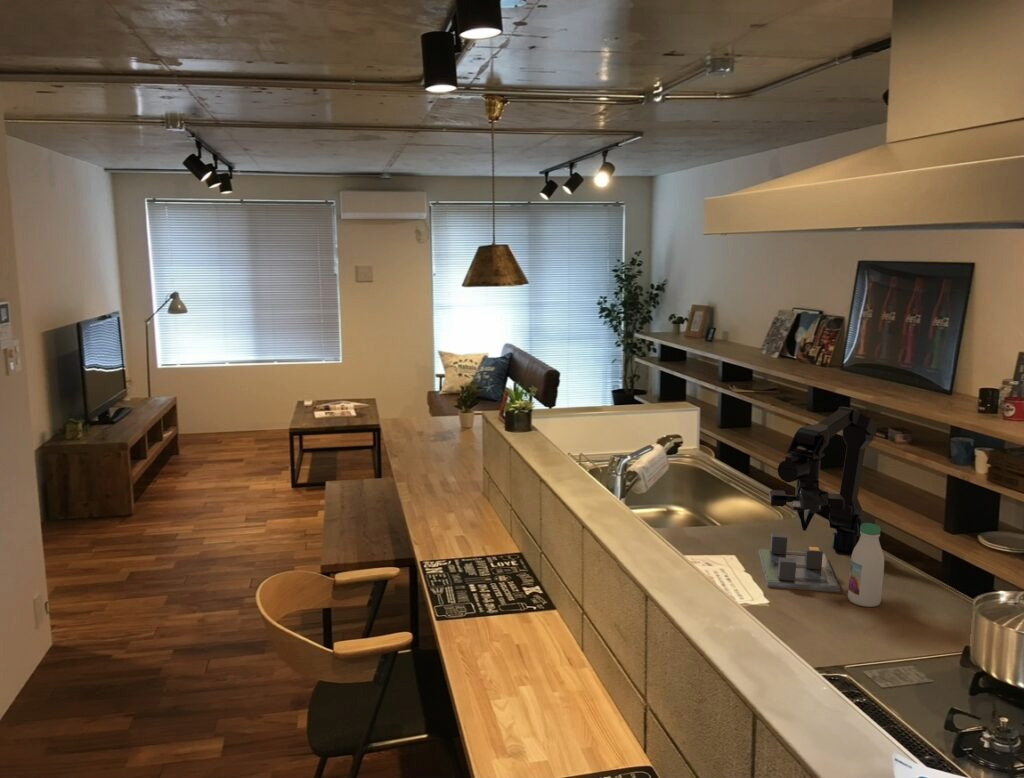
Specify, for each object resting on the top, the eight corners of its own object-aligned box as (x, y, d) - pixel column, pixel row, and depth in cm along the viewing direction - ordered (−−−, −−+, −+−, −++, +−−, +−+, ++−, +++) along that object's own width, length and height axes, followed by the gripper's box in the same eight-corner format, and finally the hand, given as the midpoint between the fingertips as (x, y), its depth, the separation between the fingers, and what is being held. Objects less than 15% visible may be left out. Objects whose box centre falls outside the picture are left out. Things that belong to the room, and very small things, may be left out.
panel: (824, 557, 238) (824, 552, 238) (839, 592, 216) (840, 587, 216) (758, 553, 242) (759, 548, 241) (767, 586, 219) (767, 581, 219)
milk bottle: (881, 597, 213) (888, 523, 209) (880, 610, 206) (887, 533, 202) (848, 592, 216) (854, 518, 213) (846, 604, 210) (852, 528, 206)
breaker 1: (784, 550, 240) (785, 533, 239) (786, 554, 237) (787, 537, 236) (770, 549, 240) (771, 532, 239) (771, 553, 237) (772, 536, 236)
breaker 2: (793, 576, 222) (794, 558, 221) (794, 580, 219) (796, 562, 218) (777, 574, 223) (778, 557, 222) (779, 579, 220) (780, 561, 219)
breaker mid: (819, 565, 229) (821, 547, 228) (821, 569, 227) (822, 551, 226) (804, 563, 230) (805, 546, 229) (805, 568, 227) (807, 550, 226)
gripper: (774, 481, 218) (771, 538, 221) (851, 486, 214) (846, 543, 217) (770, 469, 229) (767, 523, 232) (842, 473, 225) (838, 528, 228)
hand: (804, 530), depth 227 cm, fingers closed
